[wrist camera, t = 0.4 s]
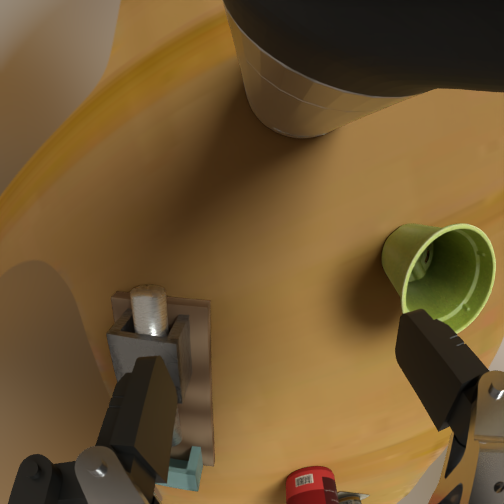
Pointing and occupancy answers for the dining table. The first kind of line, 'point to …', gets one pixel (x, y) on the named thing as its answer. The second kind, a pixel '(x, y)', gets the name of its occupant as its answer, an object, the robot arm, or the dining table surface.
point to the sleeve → (152, 349)
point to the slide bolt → (153, 324)
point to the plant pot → (441, 271)
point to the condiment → (350, 498)
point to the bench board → (200, 385)
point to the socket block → (185, 471)
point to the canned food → (311, 486)
